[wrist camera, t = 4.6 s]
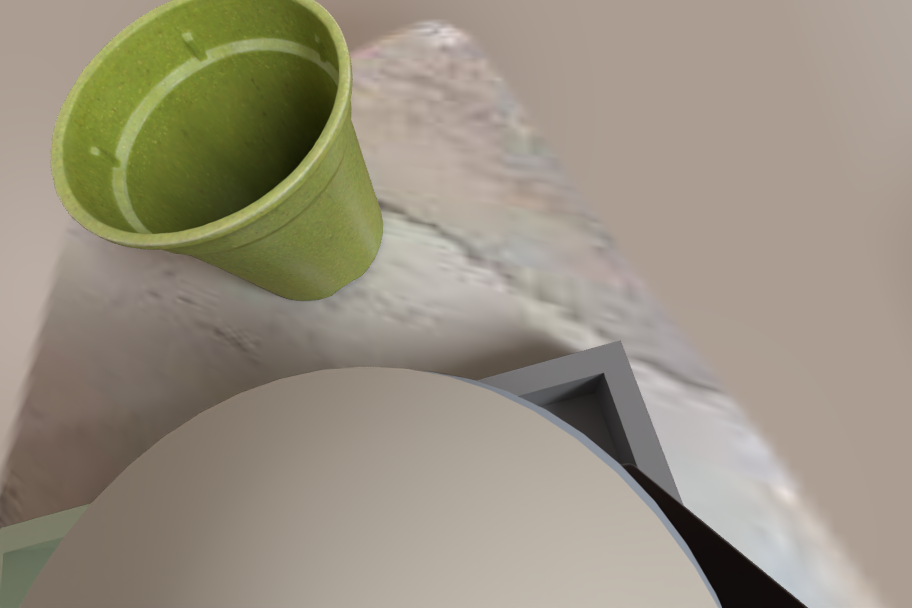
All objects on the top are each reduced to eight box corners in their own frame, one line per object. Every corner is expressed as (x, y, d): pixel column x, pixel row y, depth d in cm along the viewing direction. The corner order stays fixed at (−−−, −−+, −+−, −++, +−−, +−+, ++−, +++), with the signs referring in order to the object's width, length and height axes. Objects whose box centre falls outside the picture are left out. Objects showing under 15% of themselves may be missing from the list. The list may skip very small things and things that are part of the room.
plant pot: (188, 326, 23) (-8, 230, 15) (253, 145, 26) (120, -18, 18) (394, 354, 21) (297, 260, 13) (438, 153, 24) (382, -25, 16)
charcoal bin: (727, 694, 15) (775, 746, 12) (396, 770, 16) (357, 839, 13) (608, 367, 19) (620, 340, 16) (345, 439, 20) (306, 427, 17)
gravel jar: (627, 647, 13) (1154, 1592, 2) (436, 692, 14) (-202, 1746, 2) (564, 448, 15) (617, 262, 4) (399, 492, 15) (-32, 448, 4)
